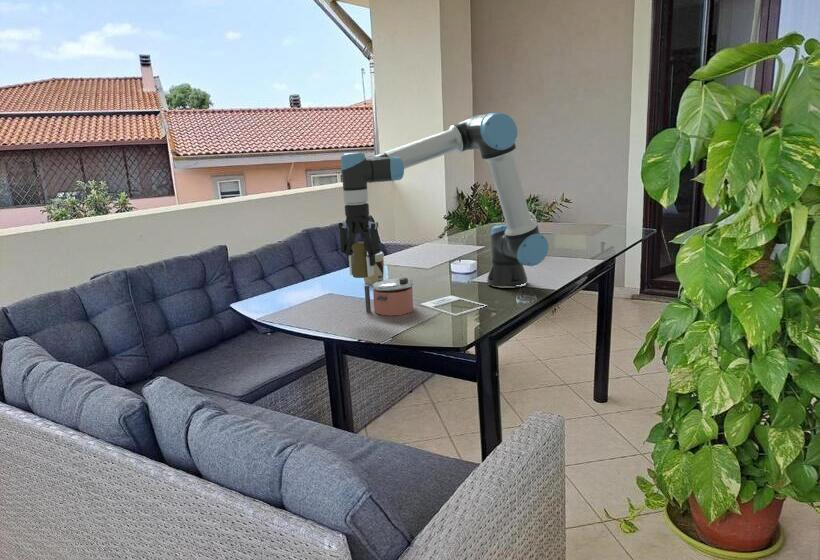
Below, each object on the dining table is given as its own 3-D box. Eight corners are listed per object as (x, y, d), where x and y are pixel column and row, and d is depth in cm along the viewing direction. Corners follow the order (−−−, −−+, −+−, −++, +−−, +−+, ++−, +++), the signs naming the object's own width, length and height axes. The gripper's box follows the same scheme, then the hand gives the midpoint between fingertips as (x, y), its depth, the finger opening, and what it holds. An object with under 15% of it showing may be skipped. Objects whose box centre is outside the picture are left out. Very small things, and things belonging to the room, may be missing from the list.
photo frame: (451, 294, 206) (487, 304, 192) (451, 297, 206) (487, 307, 192) (419, 303, 197) (455, 314, 183) (419, 306, 197) (455, 317, 184)
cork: (353, 274, 187) (350, 241, 185) (371, 272, 188) (368, 239, 185) (352, 278, 182) (349, 244, 179) (371, 277, 182) (369, 243, 179)
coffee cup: (382, 285, 227) (380, 255, 224) (359, 285, 229) (357, 255, 226) (387, 279, 236) (386, 250, 233) (366, 279, 238) (364, 250, 235)
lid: (420, 281, 194) (419, 274, 193) (401, 291, 182) (400, 283, 182) (386, 280, 200) (385, 273, 200) (365, 290, 189) (364, 283, 188)
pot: (421, 305, 197) (420, 279, 195) (399, 318, 184) (397, 291, 181) (385, 301, 204) (384, 276, 202) (361, 314, 190) (359, 288, 188)
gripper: (388, 201, 178) (393, 273, 183) (338, 201, 187) (344, 270, 192) (376, 204, 171) (381, 279, 177) (324, 204, 180) (331, 275, 186)
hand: (362, 274), depth 185 cm, fingers closed on cork, 6 cm apart
